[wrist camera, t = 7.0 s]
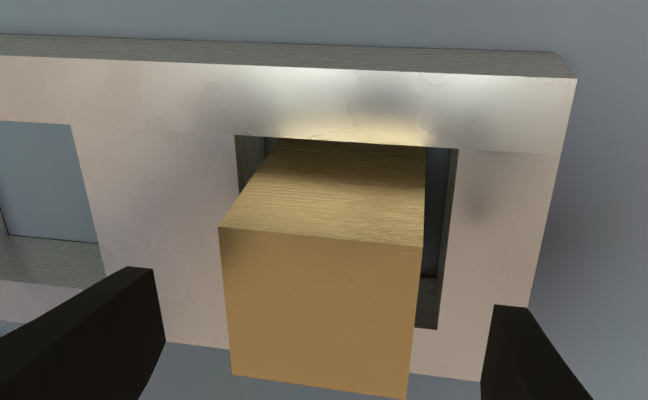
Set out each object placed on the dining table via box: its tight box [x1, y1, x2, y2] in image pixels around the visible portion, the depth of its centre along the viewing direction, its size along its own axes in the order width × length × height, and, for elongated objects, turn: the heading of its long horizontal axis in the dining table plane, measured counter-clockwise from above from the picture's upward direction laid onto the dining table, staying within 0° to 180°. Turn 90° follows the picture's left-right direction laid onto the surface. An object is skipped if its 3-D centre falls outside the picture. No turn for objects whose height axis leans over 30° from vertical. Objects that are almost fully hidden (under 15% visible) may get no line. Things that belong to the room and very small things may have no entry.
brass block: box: [217, 138, 426, 400], centre depth 14 cm, size 4×4×6 cm
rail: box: [0, 34, 577, 382], centre depth 16 cm, size 9×20×2 cm, turn 90°
